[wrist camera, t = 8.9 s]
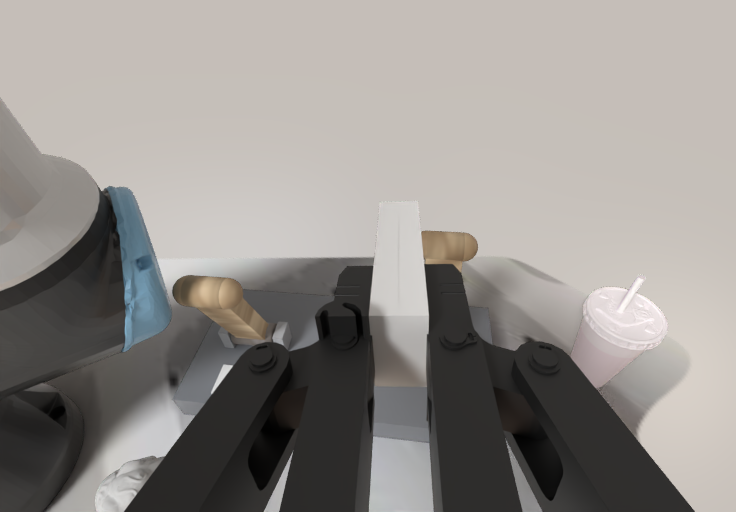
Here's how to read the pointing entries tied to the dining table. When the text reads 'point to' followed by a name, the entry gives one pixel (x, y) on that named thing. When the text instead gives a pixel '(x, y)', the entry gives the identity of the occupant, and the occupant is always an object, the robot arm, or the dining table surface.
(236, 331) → the lever
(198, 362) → the switch unit
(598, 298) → the smoothie
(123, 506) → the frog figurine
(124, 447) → the dining table surface
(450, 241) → the lever
